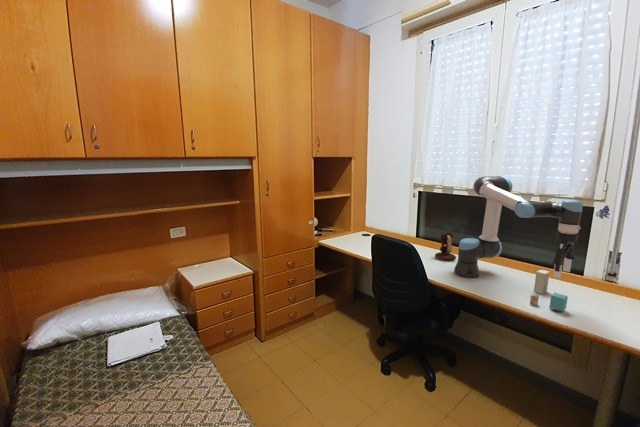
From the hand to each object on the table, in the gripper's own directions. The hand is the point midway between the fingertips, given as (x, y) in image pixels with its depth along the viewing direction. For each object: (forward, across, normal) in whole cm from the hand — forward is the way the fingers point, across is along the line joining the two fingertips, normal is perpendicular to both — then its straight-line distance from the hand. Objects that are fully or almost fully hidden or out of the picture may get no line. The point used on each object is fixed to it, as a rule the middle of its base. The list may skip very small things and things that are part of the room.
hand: (561, 274), depth 144 cm
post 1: (+19, -3, +9) cm, 21 cm away
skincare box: (+19, +18, +13) cm, 29 cm away
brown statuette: (+19, +27, +78) cm, 84 cm away
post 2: (+19, 0, 0) cm, 19 cm away
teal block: (+18, 0, 0) cm, 18 cm away
